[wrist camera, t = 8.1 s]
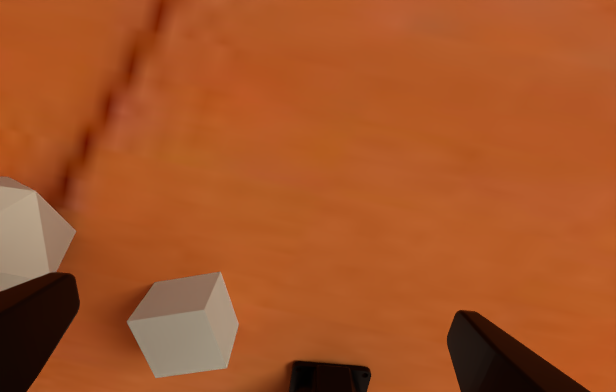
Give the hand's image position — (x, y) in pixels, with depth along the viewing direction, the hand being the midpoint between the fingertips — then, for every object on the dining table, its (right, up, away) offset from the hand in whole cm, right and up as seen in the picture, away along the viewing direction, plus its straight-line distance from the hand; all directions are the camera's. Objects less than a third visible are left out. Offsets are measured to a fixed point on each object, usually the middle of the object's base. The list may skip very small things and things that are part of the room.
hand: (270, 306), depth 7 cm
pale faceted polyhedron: (-18, +1, +14) cm, 22 cm away
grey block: (-7, -6, +16) cm, 19 cm away
